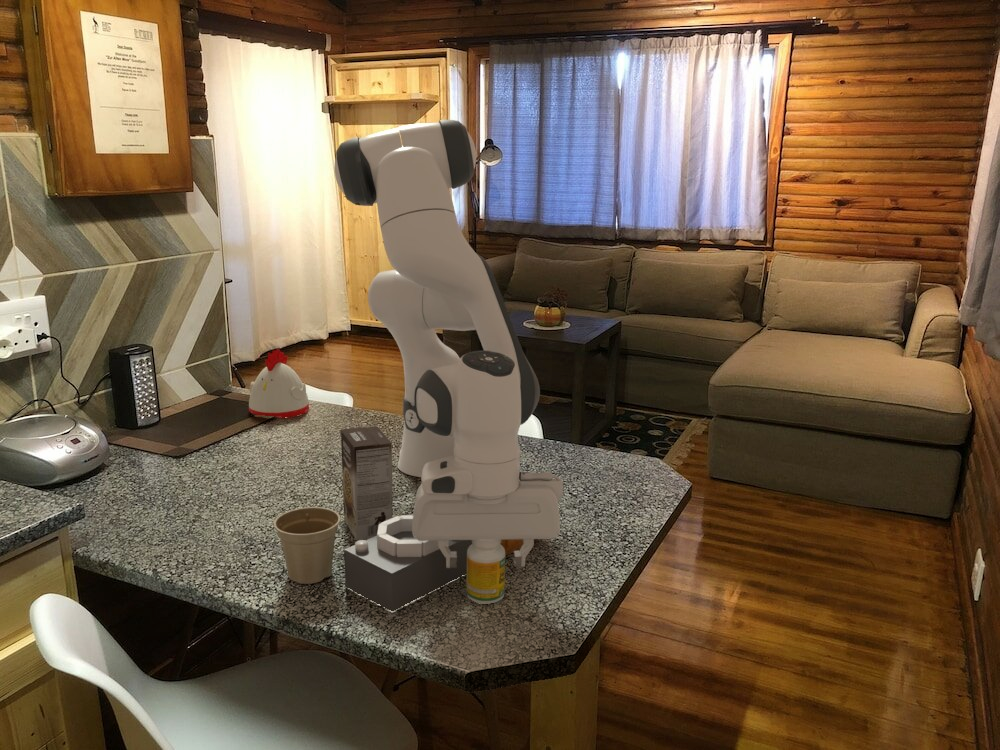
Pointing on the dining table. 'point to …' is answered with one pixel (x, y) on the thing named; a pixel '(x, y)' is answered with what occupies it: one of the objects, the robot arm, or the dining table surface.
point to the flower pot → (308, 542)
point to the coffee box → (366, 480)
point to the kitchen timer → (278, 390)
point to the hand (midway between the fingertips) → (485, 565)
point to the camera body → (400, 564)
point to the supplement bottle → (485, 571)
